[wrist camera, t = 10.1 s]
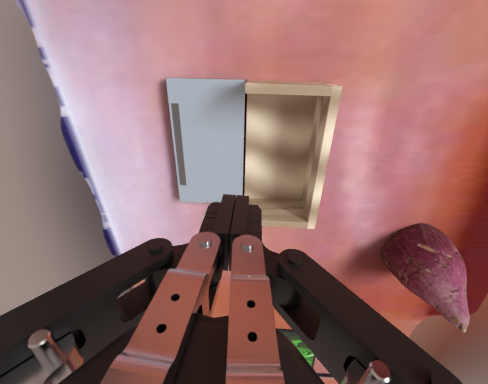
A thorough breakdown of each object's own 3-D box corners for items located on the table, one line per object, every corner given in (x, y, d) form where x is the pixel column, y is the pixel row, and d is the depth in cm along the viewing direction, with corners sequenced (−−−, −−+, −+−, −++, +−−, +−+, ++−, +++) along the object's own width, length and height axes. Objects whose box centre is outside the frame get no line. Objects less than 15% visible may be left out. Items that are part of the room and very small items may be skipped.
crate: (247, 79, 31) (245, 83, 25) (325, 82, 31) (342, 86, 25) (244, 200, 40) (241, 225, 34) (305, 203, 39) (314, 228, 33)
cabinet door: (245, 79, 32) (168, 77, 31) (245, 80, 31) (165, 78, 30) (242, 199, 40) (181, 198, 40) (242, 203, 39) (179, 202, 39)
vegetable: (419, 256, 47) (479, 343, 36) (368, 257, 46) (414, 347, 35) (453, 220, 40) (541, 315, 29) (394, 221, 39) (462, 319, 28)
